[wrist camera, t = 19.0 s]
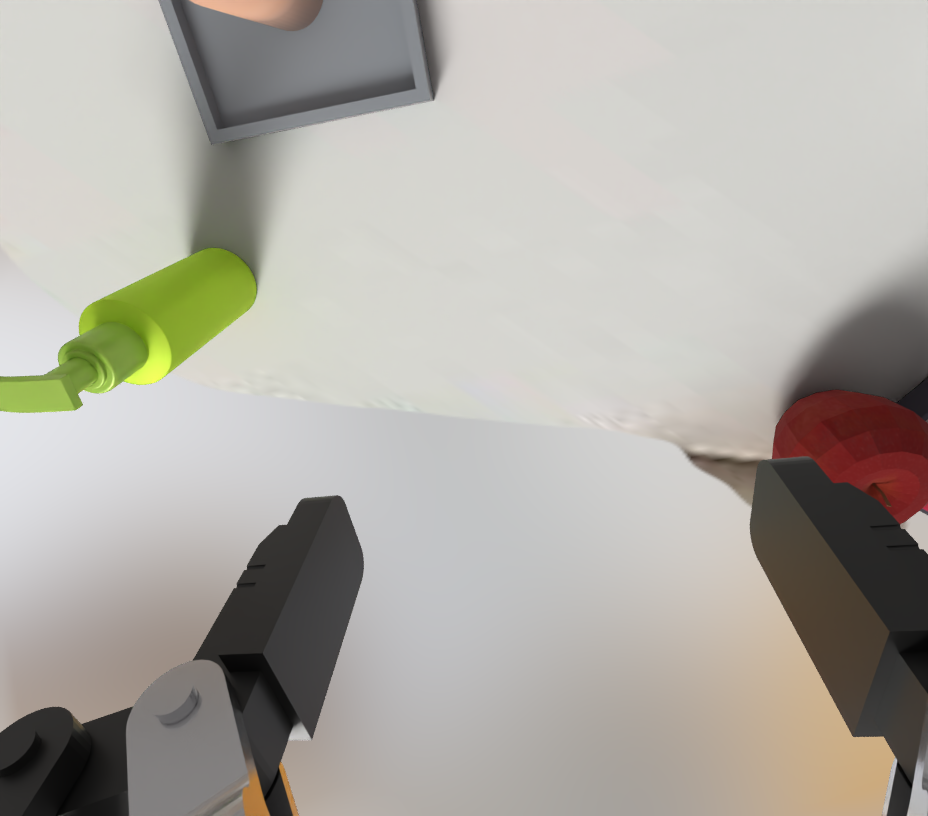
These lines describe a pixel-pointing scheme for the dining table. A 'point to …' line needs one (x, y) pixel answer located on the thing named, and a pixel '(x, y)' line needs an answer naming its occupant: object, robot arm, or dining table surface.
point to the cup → (269, 11)
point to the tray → (299, 65)
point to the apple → (861, 446)
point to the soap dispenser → (140, 332)
